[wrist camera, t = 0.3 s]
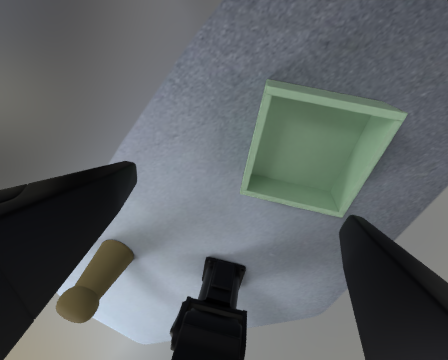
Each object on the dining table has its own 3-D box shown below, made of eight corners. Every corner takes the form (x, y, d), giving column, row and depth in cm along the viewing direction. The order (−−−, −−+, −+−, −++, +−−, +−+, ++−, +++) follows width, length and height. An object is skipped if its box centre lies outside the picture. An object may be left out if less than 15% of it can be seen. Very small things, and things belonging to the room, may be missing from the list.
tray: (331, 194, 24) (342, 218, 20) (243, 173, 25) (239, 194, 21) (382, 101, 18) (408, 113, 15) (266, 78, 19) (266, 85, 16)
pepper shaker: (136, 248, 36) (90, 317, 27) (131, 267, 39) (89, 334, 30) (102, 234, 36) (44, 299, 26) (100, 254, 39) (48, 318, 30)
